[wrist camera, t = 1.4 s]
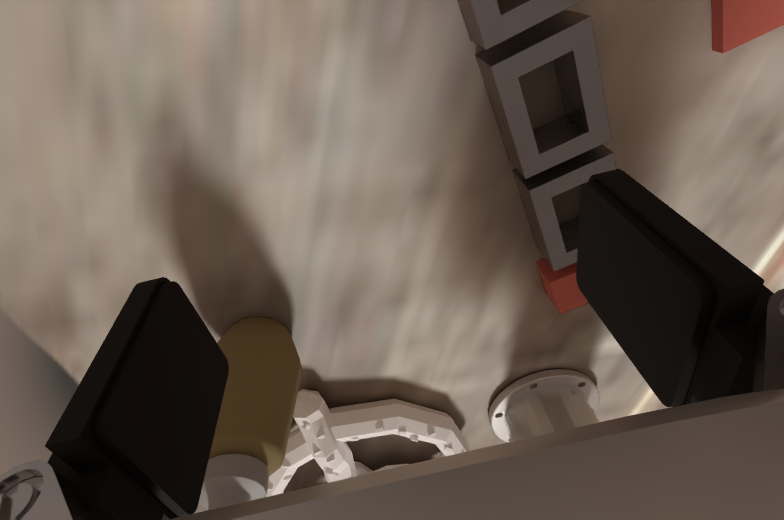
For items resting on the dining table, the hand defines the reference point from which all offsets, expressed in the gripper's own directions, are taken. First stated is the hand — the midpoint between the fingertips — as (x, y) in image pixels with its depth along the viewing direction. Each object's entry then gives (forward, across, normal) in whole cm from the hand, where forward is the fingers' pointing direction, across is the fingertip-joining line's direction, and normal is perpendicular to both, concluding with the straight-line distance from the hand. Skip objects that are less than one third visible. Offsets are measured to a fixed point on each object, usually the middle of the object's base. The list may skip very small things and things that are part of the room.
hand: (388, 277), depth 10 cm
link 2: (+22, -14, +13) cm, 29 cm away
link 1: (+22, -12, +4) cm, 25 cm away
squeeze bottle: (+22, +14, +21) cm, 33 cm away
